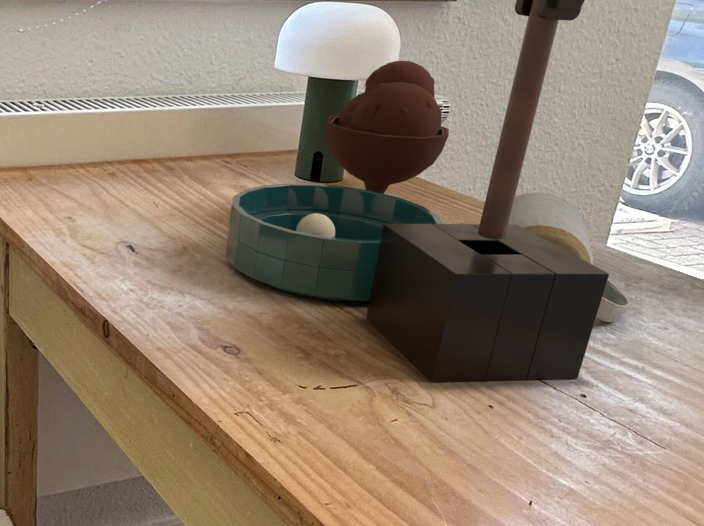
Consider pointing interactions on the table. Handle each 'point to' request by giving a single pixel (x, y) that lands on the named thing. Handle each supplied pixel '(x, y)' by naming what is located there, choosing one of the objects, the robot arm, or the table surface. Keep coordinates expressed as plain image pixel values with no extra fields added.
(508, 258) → the holder
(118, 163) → the table surface
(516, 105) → the stick
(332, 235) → the dough ball
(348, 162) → the ice cream bowl
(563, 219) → the ceramic mug
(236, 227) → the bowl
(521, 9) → the robot arm
